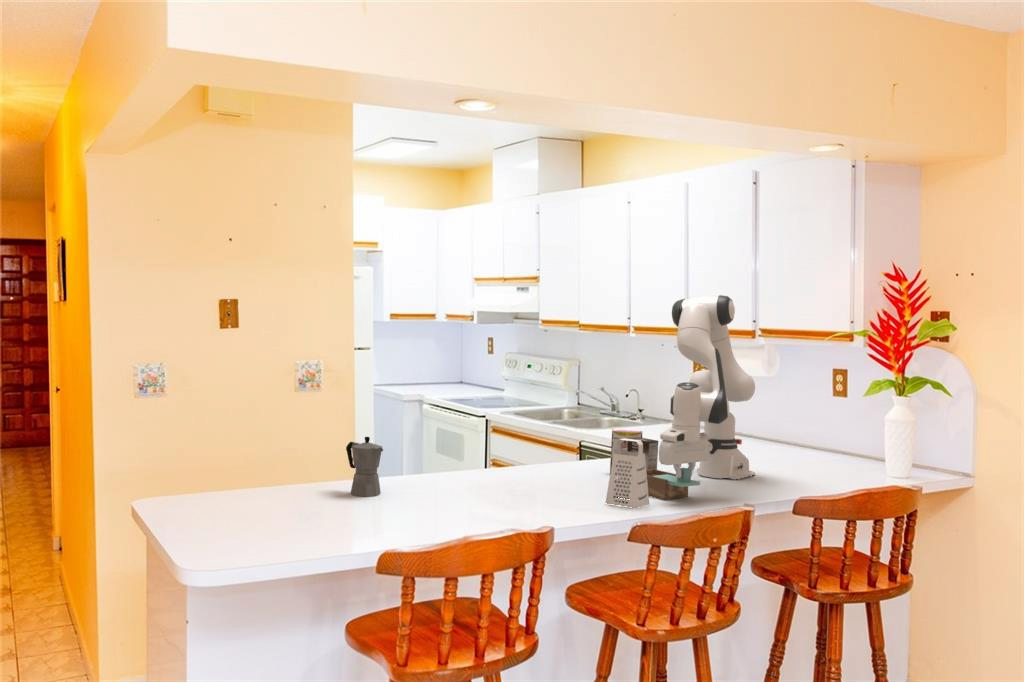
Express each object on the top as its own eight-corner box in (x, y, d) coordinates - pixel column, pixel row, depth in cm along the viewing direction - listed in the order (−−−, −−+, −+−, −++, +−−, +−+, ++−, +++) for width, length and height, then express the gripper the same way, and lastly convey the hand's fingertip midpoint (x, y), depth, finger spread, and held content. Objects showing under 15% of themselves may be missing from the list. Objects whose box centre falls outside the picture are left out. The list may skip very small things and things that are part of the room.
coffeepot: (391, 494, 283) (393, 437, 283) (370, 499, 276) (371, 440, 275) (356, 487, 292) (357, 432, 292) (334, 492, 285) (336, 435, 284)
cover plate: (667, 477, 302) (667, 462, 302) (700, 484, 290) (700, 469, 290) (649, 479, 297) (649, 464, 297) (682, 487, 285) (682, 471, 285)
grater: (636, 509, 275) (639, 443, 275) (605, 504, 280) (607, 440, 280) (649, 503, 284) (651, 439, 284) (618, 498, 290) (620, 436, 289)
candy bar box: (609, 475, 330) (611, 430, 329) (609, 472, 335) (611, 428, 334) (640, 477, 329) (642, 431, 328) (640, 474, 334) (642, 430, 333)
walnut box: (652, 487, 309) (653, 468, 309) (687, 496, 296) (688, 477, 296) (629, 490, 302) (629, 471, 302) (664, 500, 290) (665, 479, 289)
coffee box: (624, 484, 313) (626, 438, 313) (635, 482, 318) (637, 436, 318) (646, 488, 307) (648, 441, 307) (657, 486, 312) (659, 440, 311)
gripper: (700, 430, 298) (698, 472, 299) (656, 434, 286) (654, 477, 287) (715, 433, 293) (713, 475, 294) (671, 437, 281) (669, 481, 282)
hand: (684, 476), depth 290 cm, fingers closed on cover plate, 3 cm apart
